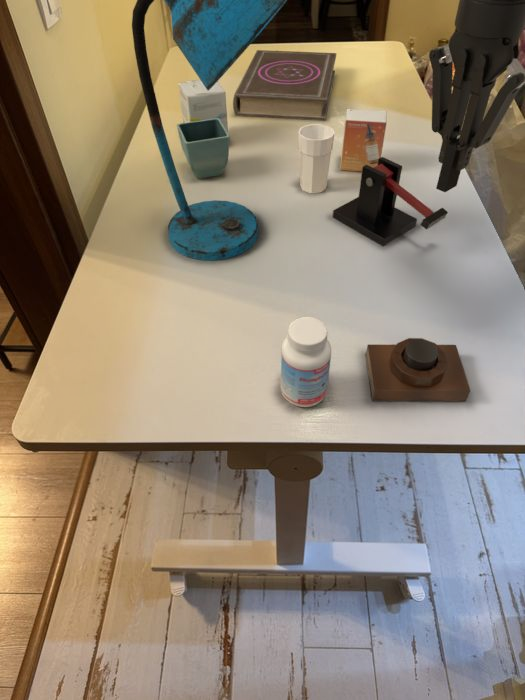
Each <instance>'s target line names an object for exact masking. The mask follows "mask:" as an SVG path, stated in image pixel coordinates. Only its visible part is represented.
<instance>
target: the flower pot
mask: <svg viewBox="0 0 525 700" xmlns="http://www.w3.org/2000/svg"><path fill="white" fill-rule="evenodd" d="M176 128H177V132H178V136H179V140H180V144H181V148H182V151H183V154H184V156H185V158H186V160H187V162H188V165H189V167H190V170H191V172H192V173H193V175H194V177H195V178H196V179H198V180H201V179H207V178H212V177H219V176H221V175H222V174H223V172H224V171H225V170H226V167H227V164H228V161H229V153H230V137H231V136H230V133H229V131H228V132H227V131H226V129H225V127H224V126H223V124H222V122H221V120H220V119H219V118H213V119H208V120H201V121H194V122H187V123H183V122H181V123H177V124H176Z"/></svg>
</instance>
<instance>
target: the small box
mask: <svg viewBox="0 0 525 700" xmlns="http://www.w3.org/2000/svg"><path fill="white" fill-rule="evenodd" d="M344 119H345V120H344V121H345V122H344V127H343V128H344V129H343V137H342V144H341V145H342V147H341V155H340V164H339V166H340V167H339V170H340V171H351V172H352V171H353V172H362V168H363V166H365V165H368V166H371V167H373V168H374V167H376V166H378V159H379V158H381V157H382V153H383V148H384V142H385V135H386V129H387V122H388V121H387V119H388V111H387V110H373V109H372V110H371V109H370V110H369V109H353V108H347V109H346V113H345V118H344Z"/></svg>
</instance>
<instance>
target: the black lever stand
mask: <svg viewBox="0 0 525 700" xmlns="http://www.w3.org/2000/svg"><path fill="white" fill-rule="evenodd" d="M380 164H383V165H384V166H385V167H387V168H388V169H389V170H390V171H392V172H393V175H392V177H391V179H393V180H394V181H395V182H396V183H398V184H399V185H400V181H401V175H402V169H403V165H401V164H399V163H397V162H395V161H393V160H390V159H388V158H386V157H384V156H381V158H379V159H378V165H380ZM386 176H387V174H385V173H383V172H381V171H379V170H377V169H375V168H373V167H371V166H368V165H365V166H363V168H362V171H361V176H360V184H359V191H358V196H357V197H356V198H353V199H352V200H350V201H348V202H346V203H344V204H343V205H341V206H338V207H337V208H335V209H333V211H332V218H333V219H335V220H336V221H338V222H340V223H342V224H344V225H345V226H347V227H348V228H351V229H352V230H353V231H356V232H357V233H359V234H360V235H363V236H364V237H366V238H368V239H370V241H371V240H372V241H373V242H375V243H376V244H378V245H380V246H382V247H384V246H385V245H387V244H389V243H390V242H392V241H394V240H395V239H397V238H399V237H400V236H402V235H404V234H405V233H407V232H409V231H410V230H412V229H413V228H415V227H416V226H417V221H418V219H417V218H416V217H414V216H412V215H410V214H409V213H407V212H404V211H403V210H402V209H399V208H397V207H395V206H396V202H397V196H398V195H397V194H395V193H394V192H393V191H392V190H390V189H389V188H388V187H387V186H385V182H386Z"/></svg>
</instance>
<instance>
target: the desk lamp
mask: <svg viewBox="0 0 525 700" xmlns="http://www.w3.org/2000/svg"><path fill="white" fill-rule="evenodd" d="M287 1H288V0H163V2H165V4H166V6H167V7H168V8H169V11H170V17H171V18H170V19H171V30H172V39H173V41H174V43H175V44H176V46H177V47H178V48H179V50H180V52H181V53H182V54H183V56H184V57H185V59H186V60H187V62H188V64H189V65H190V66H191V68H192V69H193V71H194V72H195V74H196V76H197V77H198V78H199V80H201V81H202V83H203V84H204V86H205V87H206V89H207V90H208V91H209V90H210V89H211V88H212V87H213V86H214V85H215V83H216V82H217V81H218V82H219V81H220V79H221V78H223V76H224V75H225V74H226V73H227V72H228V71H229V70H230V68H231V67H232V66H233V65H234V64H235V63H236V61H237V60H238V59H239V58H240V57H241V56H242V55H243V53H245V52H246V50H247V49H248V48H249V47H250V45H251V44H252V43H253V42H254V41H255V40H256V39H257V37H258V36H259V35H260V34H261V33H262V31H263V30H264V29H265V28H266V27H267V26H268V25H269V23H270V22H271V21H272V20H273V18H274V17H275V16H276V15H277V14H278V13H279V12H280V10H281V9H282V8H283V7H284V5H285V4H286V3H287ZM154 2H155V0H136V2H135V5H134V7H133V10H132V18H131V19H132V20H131V29H132V40H133V48H134V54H135V60H136V66H137V71H138V76H139V80H140V84H141V89H142V92H143V96H144V100H145V104H146V108H147V112H148V116H149V120H150V124H151V129H152V131H153V134H154V138H155V141H156V143H157V144H156V145H157V147H158V150H159V153H160V156H161V159H162V163H163V166H164V169H165V172H166V175H167V178H168V180H169V183H170V186H171V189H172V192H173V195H174V199H175V200H176V203H177V206H178V208H179V211H177V212H176V213H175V214H173V216H172V217H171V219H170V220H169V223H168V225H167V230H168V239H169V243H170V244H171V247H172V248H173V249H174V250H175V251H176V252H177V253H179V254H180V255H183V256H185V257H187V258H190V259H194V260H198V261H212V262H213V261H220V260H221V261H223V260H226V259H231V258H234V257H236V256H238V255H241V254H243V253H245V252H246V251H247V250H249V249H250V248H251V247H252V246H254V244H255V243H256V241H257V239H258V237H259V224H258V223H259V222H258V219H257V216H256V215H255V214H254V212H253V211H252V210H251V209H249V208H248V207H246V206H245V205H242V204H240V203H237V202H234V201H228V200H204V201H199V202H197V203H192V204H190V205H189V203H188V201H187V198H186V195H185V192H184V188H183V186H182V182H181V180H180V177H179V174H178V171H177V169H176V165H175V162H174V159H173V156H172V153H171V149H170V146H169V142H168V138H167V136H166V133H165V129H164V126H163V121H162V117H161V113H160V109H159V104H158V100H157V96H156V92H155V88H154V84H153V80H152V75H151V69H150V63H149V58H148V52H147V43H146V41H147V40H146V33H145V22H146V21H145V20H146V15H147V13H148V10H149V9H150V6H151V5H152V4H153V3H154Z"/></svg>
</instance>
